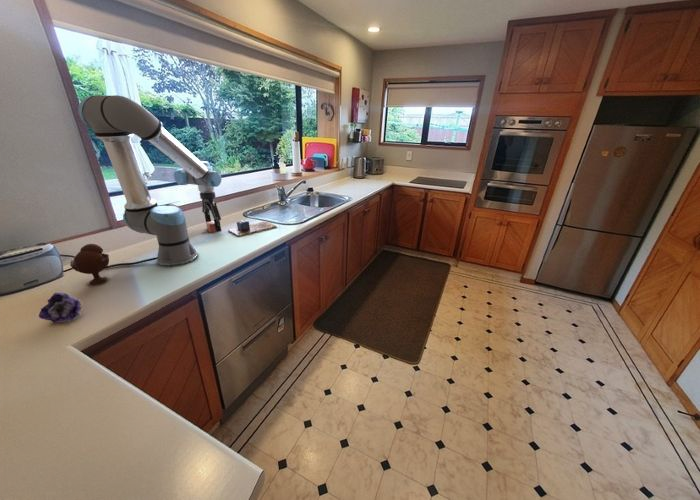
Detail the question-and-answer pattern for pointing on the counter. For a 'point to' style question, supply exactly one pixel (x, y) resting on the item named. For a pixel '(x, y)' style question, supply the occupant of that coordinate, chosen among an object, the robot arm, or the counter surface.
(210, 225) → the orange block
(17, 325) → the counter surface
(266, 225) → the word board
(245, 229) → the dark grey cube
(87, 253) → the ice cream bowl
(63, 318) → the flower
